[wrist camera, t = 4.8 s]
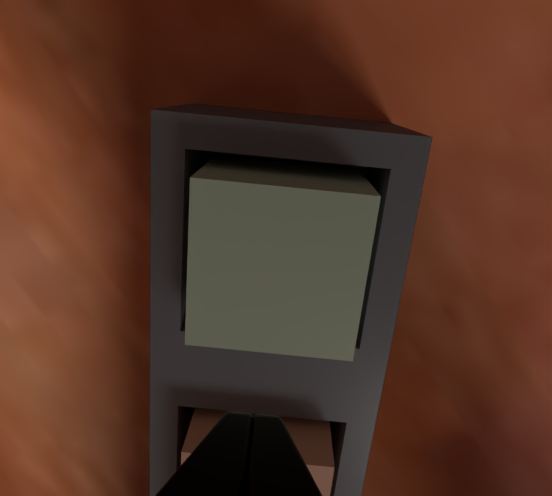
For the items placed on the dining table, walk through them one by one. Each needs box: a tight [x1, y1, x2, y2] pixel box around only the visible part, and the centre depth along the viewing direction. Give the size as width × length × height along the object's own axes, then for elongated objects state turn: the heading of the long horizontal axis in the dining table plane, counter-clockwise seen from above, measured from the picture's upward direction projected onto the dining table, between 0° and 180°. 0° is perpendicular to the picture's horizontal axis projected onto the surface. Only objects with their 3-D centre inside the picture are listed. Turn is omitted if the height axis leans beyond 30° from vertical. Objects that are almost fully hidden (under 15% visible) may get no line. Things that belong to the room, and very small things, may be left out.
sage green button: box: [185, 156, 381, 361], centre depth 15 cm, size 5×5×4 cm
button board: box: [150, 104, 432, 496], centre depth 20 cm, size 8×26×6 cm, turn 175°
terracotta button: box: [181, 408, 335, 496], centre depth 18 cm, size 5×5×4 cm
